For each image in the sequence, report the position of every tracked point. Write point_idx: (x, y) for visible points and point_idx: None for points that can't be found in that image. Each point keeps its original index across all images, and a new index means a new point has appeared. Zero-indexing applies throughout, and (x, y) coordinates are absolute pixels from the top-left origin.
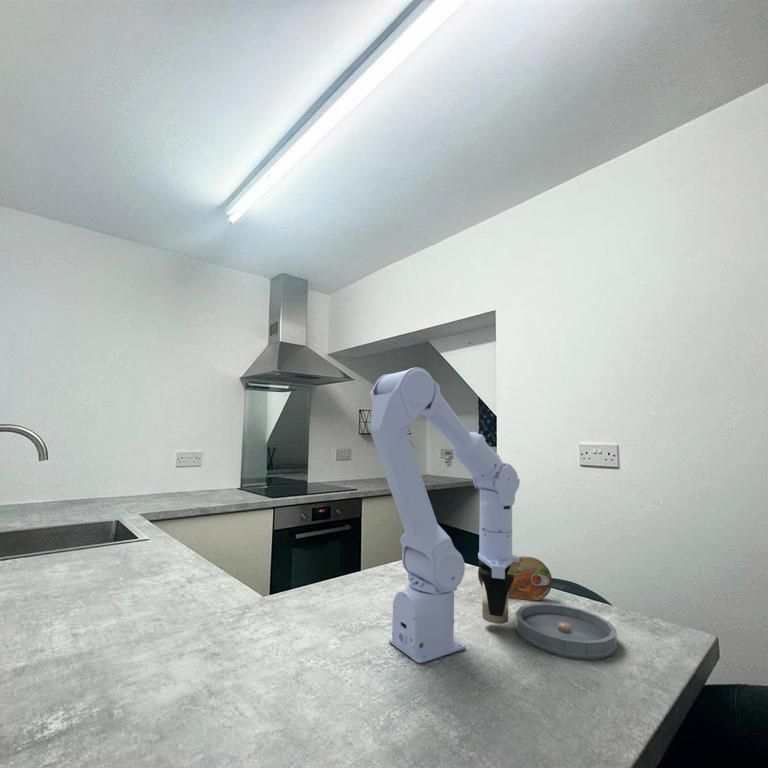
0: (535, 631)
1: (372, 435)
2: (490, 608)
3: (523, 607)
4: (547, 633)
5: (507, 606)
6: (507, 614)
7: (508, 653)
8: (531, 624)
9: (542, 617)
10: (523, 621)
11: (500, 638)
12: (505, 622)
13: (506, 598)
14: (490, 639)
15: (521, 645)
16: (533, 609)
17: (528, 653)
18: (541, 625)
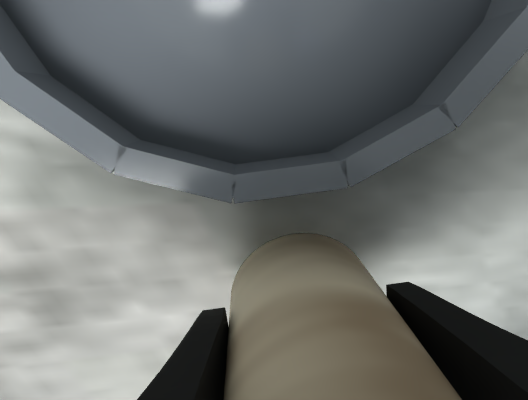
0: (502, 77)
1: None
2: None
3: (114, 154)
4: (343, 2)
5: (352, 278)
6: (334, 253)
7: (524, 202)
8: (243, 99)
9: (85, 20)
10: (374, 152)
11: (390, 242)
12: (346, 246)
13: (393, 321)
14: (412, 280)
15: (435, 150)
16: (43, 80)
17: (508, 118)
18: (234, 34)
